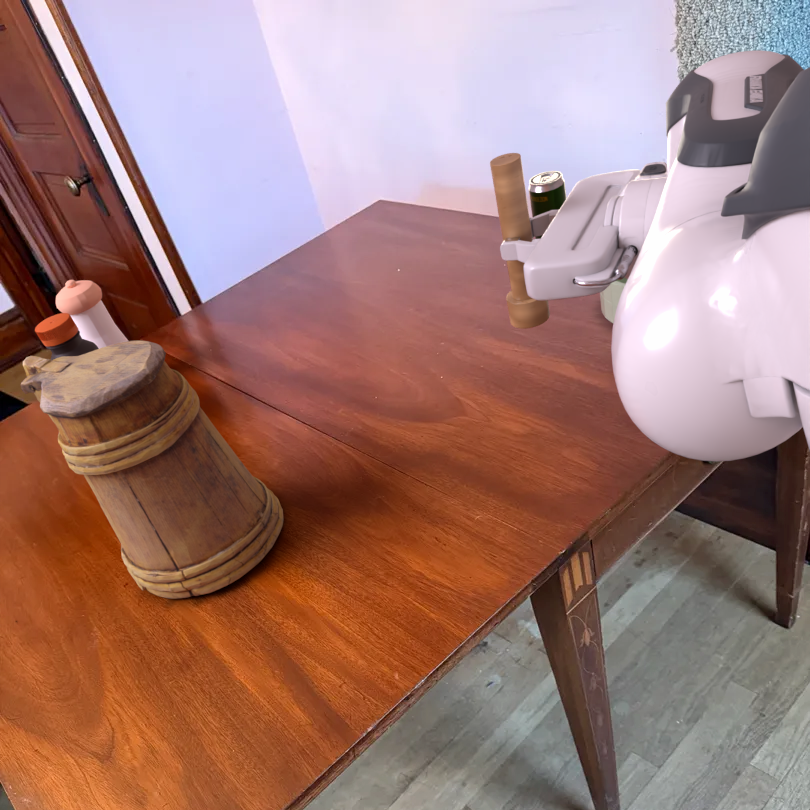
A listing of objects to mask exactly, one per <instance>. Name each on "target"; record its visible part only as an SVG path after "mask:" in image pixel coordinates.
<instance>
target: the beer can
mask: <svg viewBox="0 0 810 810" xmlns="http://www.w3.org/2000/svg"><path fill="white" fill-rule="evenodd" d="M528 184H529V185H528V195H529V202H530V203H529V204H530V209H531V218H532V217H535V216H537V215H540V214H543V213H545V212H548V211H551V210H558V209H560V208H561V206H562V205H563V203H564V202H565V200H566V199H567V191H566V189H567V188H566V181H565V179H564V177H563V173H562V171H559V170H549V171H544V172H540V173H538V174H535V175H534V176H532V177H531V178H530V179H529V181H528ZM542 236H543V235H541V236H536V237H534V239H541V237H542Z"/></svg>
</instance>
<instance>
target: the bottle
mask: <svg viewBox="0 0 810 810" xmlns="http://www.w3.org/2000/svg"><path fill="white" fill-rule="evenodd" d="M34 332H35V334H36V335H37V337H38V339H39V340H40V341H41V343H42V344H43V346H45V348H46V349H47V350H50V352H51V357H50V360H54V359H56V358H59V357H64V356H80V355H83V354H86V353H89V352H91V351H94V350H97V349H99V348H98V347H97V345H96V344H95V343H93V342H91V341H88V340H85V339H82V338H81V336H80V331H79V330H78V327H77V326H76V324H75V322H74V321H73V319H72V318H71V316H70V314H68V313H62V312H60V313H57V314H53V315H50V316H49V317H47V318H45V319H44V320H42V321H41V322H39V323H38V324H37V325H36V326H35V327H34Z"/></svg>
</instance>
